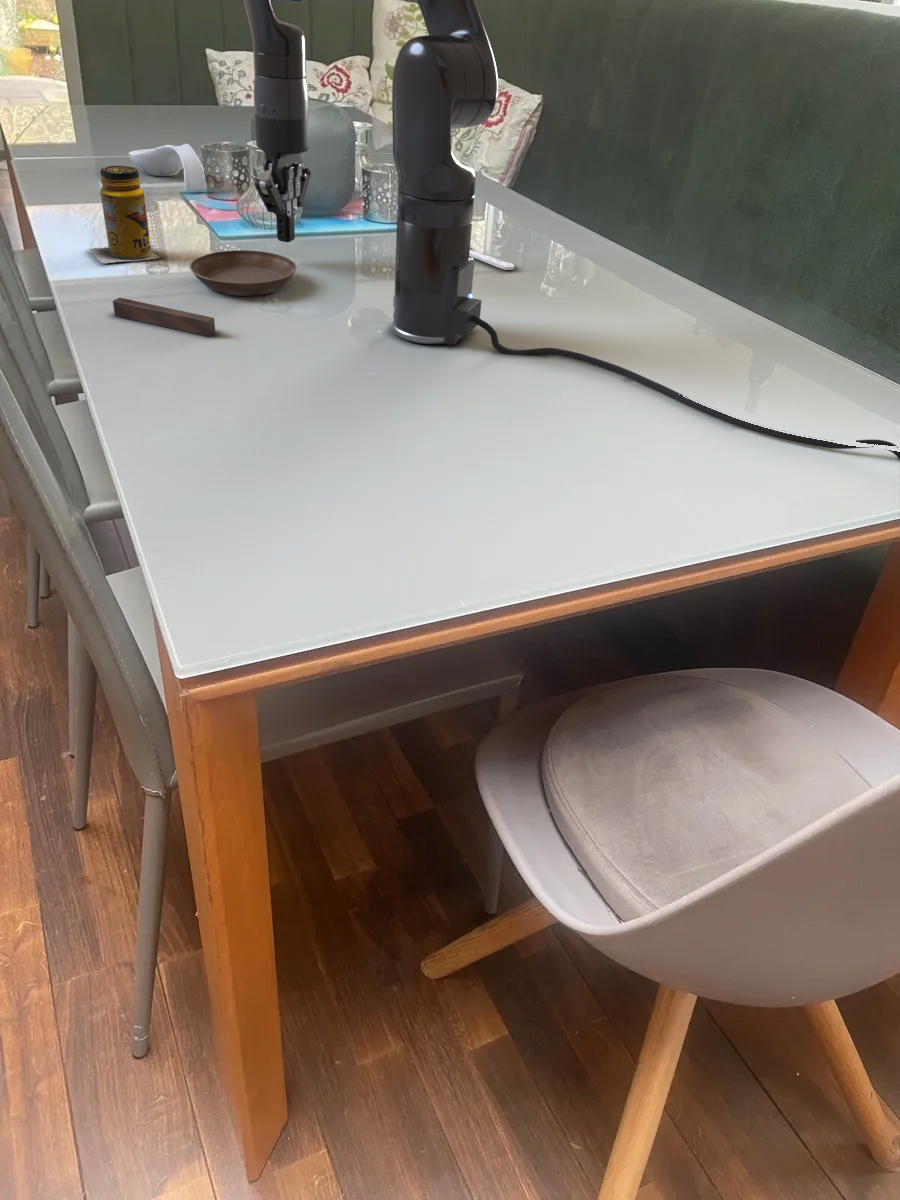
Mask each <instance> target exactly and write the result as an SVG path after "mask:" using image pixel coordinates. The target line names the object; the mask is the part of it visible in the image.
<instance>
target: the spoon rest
mask: <svg viewBox="0 0 900 1200" xmlns="http://www.w3.org/2000/svg"><path fill="white" fill-rule="evenodd" d="M128 157H129V158H130V160H131V162H132V163H133V164H134V165H135V166H136V167H137V168H139V169H140V170H142V171H144V172H145V173H146V174H148V175H151V176H156V177H173V176H176V175H178V174H179V173H180V172H181V171H182V170H183V181H184V190H185V192H187V193H189V192H190V193H192V192H202V191H203V192H204V191H208V190H207V187H205V174H206V173H205V174H204V171H205V169H204V165H203V164H202V162H201V160H200V159H199V156H198V154H197V153H196V151H195V150H194V149H193V147H192V146H191V145H190V144H188V143H184V144H181V145H173V144H166V145H162V146H158V147H154V148H149V149H148V148H147V149H137V150H131V151H129V152H128Z"/></svg>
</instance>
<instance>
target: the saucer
mask: <svg viewBox="0 0 900 1200" xmlns="http://www.w3.org/2000/svg"><path fill="white" fill-rule="evenodd" d="M189 269H190V270H191V272H192V273H193V274H194V276H195V277H196V278H197V280H199V281H200V283H202V284H203V285H204V286H205V287H207V288H209V289H210V290H212V291H214V292H215V293H216V292H217V293H219V294H222V295H228V296H235V297H236V296H238V297H239V296H240V297H253V296H262V295H268V294H272V293H274V292H277V291H279V290H280V289H282V288H283V287H284V286H285V285H286V284H288V282H290V280H291V279H292V278H293V277H294V275H295V273H296V271H297V269H298V268H297V264H296V262H295V261H293V260H292V259H291V258H288V257H286V256H284V255H280V254H277V253H273V252H269V251H259V250H248V249H247V250H246V249H245V250H243V249H239V250H237V249H236V250H223V251H222V250H221V251H217V252H212V253H207V254H205V255H200V256H199V257H197V258H195V259H193V260H192V261H191V262H190V264H189Z"/></svg>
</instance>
